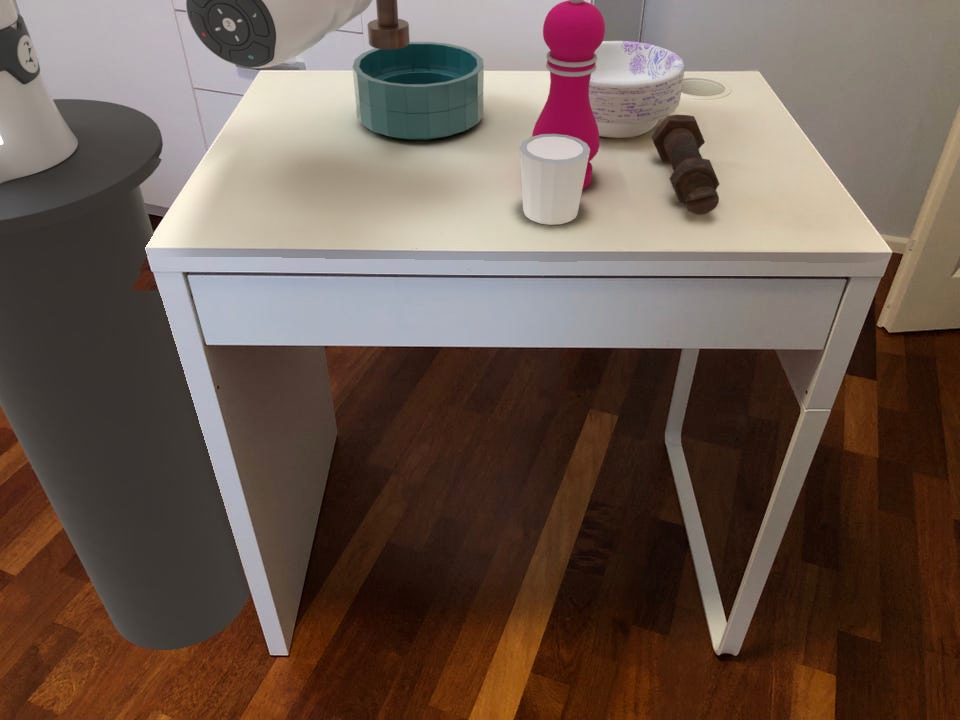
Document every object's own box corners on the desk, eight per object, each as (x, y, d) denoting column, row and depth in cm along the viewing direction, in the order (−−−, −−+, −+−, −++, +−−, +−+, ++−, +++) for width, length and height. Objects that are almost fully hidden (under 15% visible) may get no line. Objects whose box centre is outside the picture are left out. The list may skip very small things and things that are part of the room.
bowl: (352, 145, 94) (346, 87, 89) (364, 95, 106) (359, 41, 101) (484, 144, 94) (485, 86, 90) (481, 95, 106) (481, 41, 102)
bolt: (688, 235, 81) (664, 165, 93) (737, 215, 80) (706, 146, 91) (668, 191, 78) (646, 124, 89) (718, 169, 76) (688, 103, 88)
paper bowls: (526, 122, 99) (529, 58, 94) (604, 91, 107) (610, 30, 102) (623, 161, 91) (632, 93, 86) (699, 124, 99) (711, 60, 94)
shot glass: (507, 201, 83) (509, 137, 79) (567, 191, 85) (572, 128, 81) (532, 232, 78) (535, 167, 74) (595, 221, 80) (602, 156, 76)
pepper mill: (592, 165, 90) (611, -26, 77) (598, 195, 84) (620, -5, 72) (528, 164, 90) (537, -27, 77) (530, 194, 84) (540, -6, 72)
